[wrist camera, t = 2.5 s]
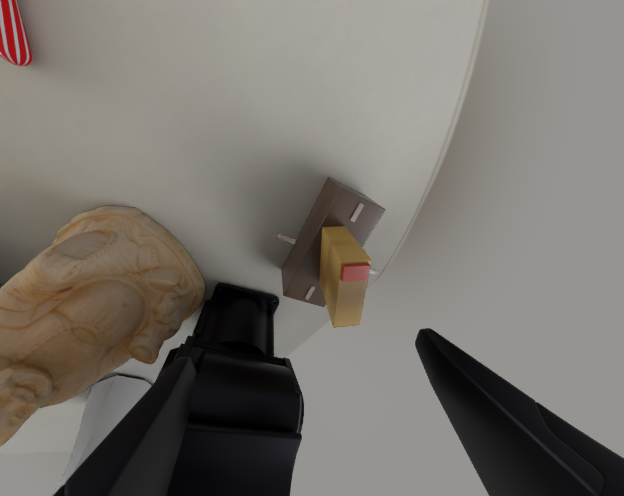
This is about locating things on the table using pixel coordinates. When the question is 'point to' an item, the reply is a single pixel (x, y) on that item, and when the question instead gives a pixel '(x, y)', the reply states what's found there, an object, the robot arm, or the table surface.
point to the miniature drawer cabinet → (307, 248)
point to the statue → (90, 308)
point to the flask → (103, 416)
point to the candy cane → (13, 35)
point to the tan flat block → (343, 275)
